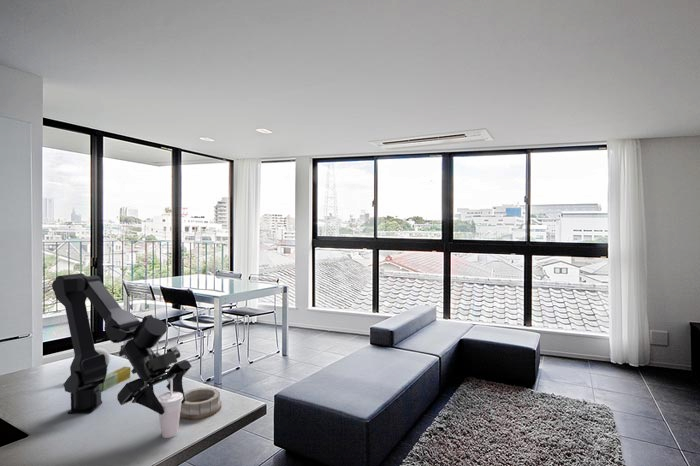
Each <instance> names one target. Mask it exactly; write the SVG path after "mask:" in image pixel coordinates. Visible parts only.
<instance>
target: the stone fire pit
mask: <svg viewBox="0 0 700 466" xmlns="http://www.w3.org/2000/svg"><path fill="white" fill-rule="evenodd" d="M220 394H221V393H220V391H219V390H218V389H216V388H212V387H198V388H197V387H196V388H193V389H190V390H187V391H186V392H185V391H184V396H185V402H184V403H183V404H182V403H181V411H180V419H183V420H190V421H191V420H193V421H194V420H201V419H206V418H209V417H212V416H214V415H216V414H217V413H218V412H220V410H221V409H222V401H221V397H220V396H221V395H220Z"/></svg>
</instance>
